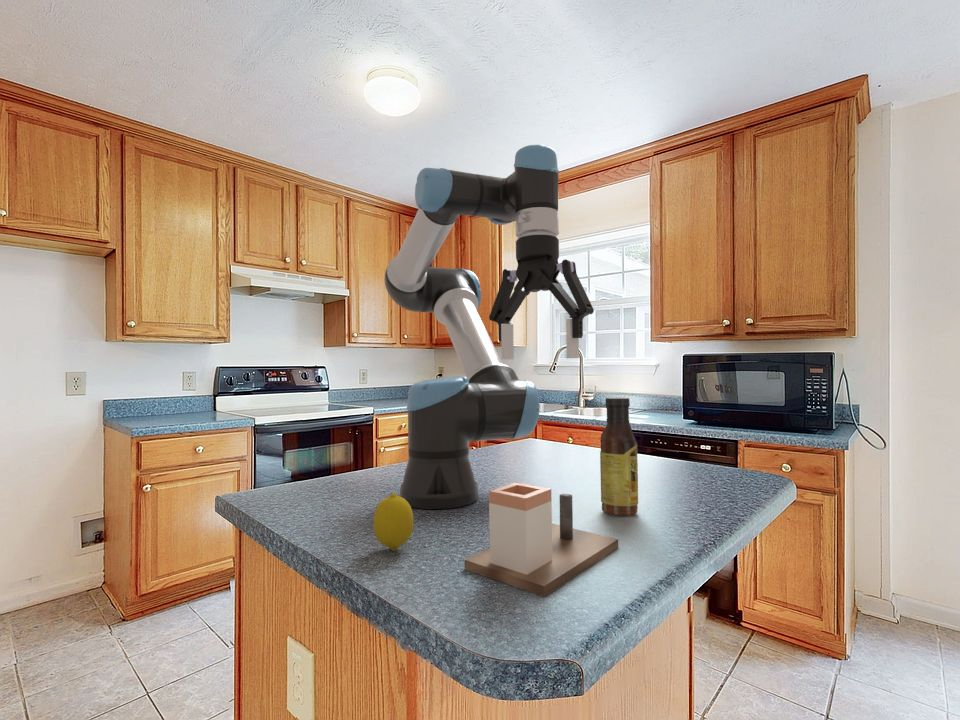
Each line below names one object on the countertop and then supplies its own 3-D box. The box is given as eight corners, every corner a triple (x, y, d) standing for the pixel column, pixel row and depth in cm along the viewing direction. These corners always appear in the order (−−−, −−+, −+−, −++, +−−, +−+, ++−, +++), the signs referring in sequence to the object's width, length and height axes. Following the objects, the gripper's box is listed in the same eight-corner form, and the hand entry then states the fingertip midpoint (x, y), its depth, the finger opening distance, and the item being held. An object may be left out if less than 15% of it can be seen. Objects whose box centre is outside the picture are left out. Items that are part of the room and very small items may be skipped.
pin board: (464, 569, 64) (463, 512, 64) (546, 529, 78) (545, 483, 79) (544, 596, 56) (543, 532, 56) (618, 547, 71) (617, 496, 71)
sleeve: (489, 562, 63) (489, 490, 63) (516, 549, 67) (515, 482, 67) (526, 574, 59) (525, 498, 59) (552, 560, 64) (551, 488, 64)
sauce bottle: (640, 519, 83) (638, 399, 83) (601, 517, 85) (600, 399, 85) (636, 507, 90) (634, 396, 90) (600, 506, 91) (598, 396, 91)
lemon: (376, 544, 73) (375, 489, 73) (414, 542, 74) (414, 488, 74) (371, 559, 68) (370, 499, 68) (412, 557, 68) (412, 498, 68)
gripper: (469, 245, 93) (471, 359, 93) (591, 220, 77) (592, 358, 77) (494, 252, 99) (496, 359, 99) (613, 229, 83) (614, 357, 83)
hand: (538, 359), depth 88 cm, fingers open, 13 cm apart
